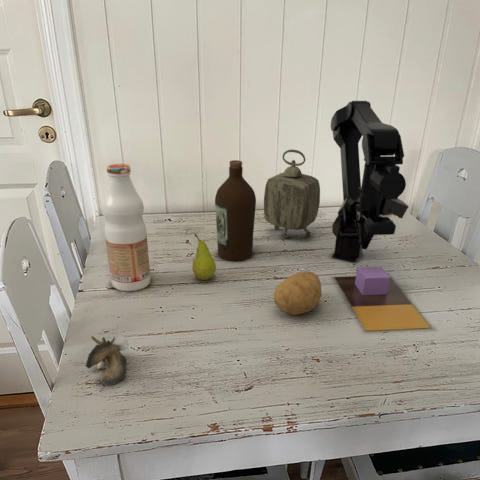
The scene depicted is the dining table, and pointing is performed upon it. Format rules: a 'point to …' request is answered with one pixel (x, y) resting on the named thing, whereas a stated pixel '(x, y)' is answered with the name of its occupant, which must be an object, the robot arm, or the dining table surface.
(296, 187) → the tabletop clock
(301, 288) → the potato
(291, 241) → the dining table surface
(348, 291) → the board
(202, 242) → the fruit
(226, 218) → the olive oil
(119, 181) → the fruit juice
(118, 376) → the brown animal figurine
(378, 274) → the block
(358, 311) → the pad
